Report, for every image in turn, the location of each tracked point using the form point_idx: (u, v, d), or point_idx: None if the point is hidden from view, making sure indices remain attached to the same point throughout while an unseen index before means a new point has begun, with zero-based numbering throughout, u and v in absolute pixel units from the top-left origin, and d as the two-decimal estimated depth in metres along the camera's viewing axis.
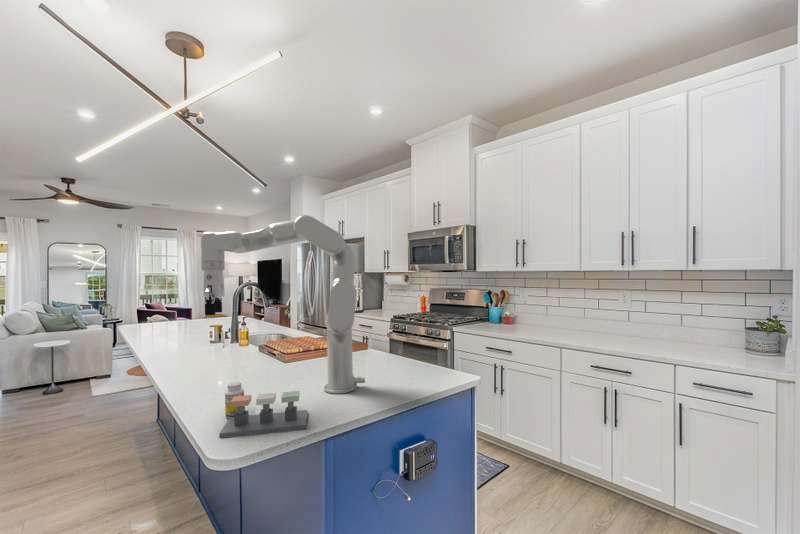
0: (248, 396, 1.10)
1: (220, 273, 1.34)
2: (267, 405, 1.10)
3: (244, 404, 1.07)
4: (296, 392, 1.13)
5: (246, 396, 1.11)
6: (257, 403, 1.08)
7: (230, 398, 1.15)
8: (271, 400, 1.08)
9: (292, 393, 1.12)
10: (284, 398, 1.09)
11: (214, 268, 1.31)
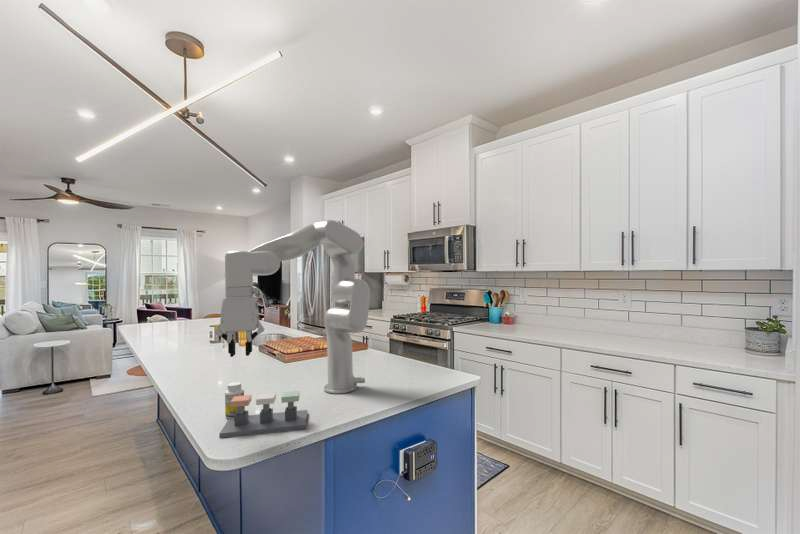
0: (248, 396, 1.10)
1: None
2: (267, 405, 1.10)
3: (244, 404, 1.07)
4: (296, 392, 1.13)
5: (246, 396, 1.11)
6: (257, 403, 1.08)
7: (230, 398, 1.15)
8: (271, 400, 1.08)
9: (292, 393, 1.12)
10: (284, 398, 1.09)
11: None
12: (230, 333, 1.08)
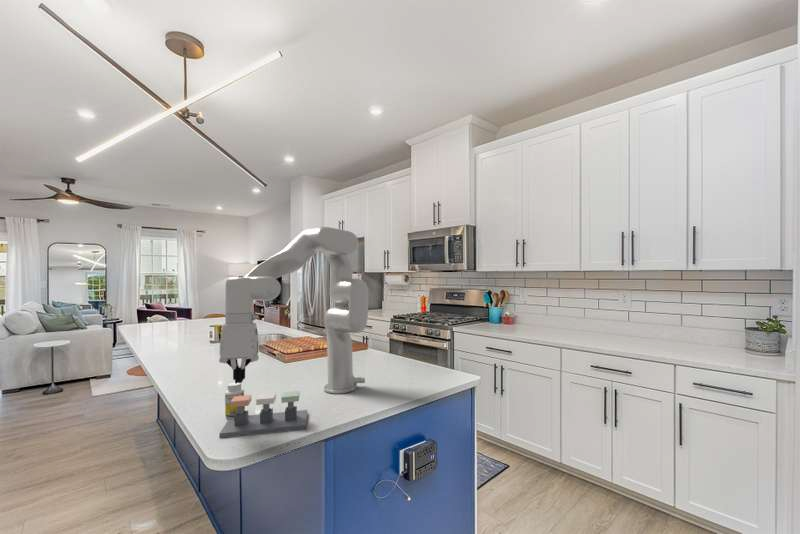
0: (248, 396, 1.10)
1: None
2: (267, 405, 1.10)
3: (244, 404, 1.07)
4: (296, 392, 1.13)
5: (246, 396, 1.11)
6: (257, 403, 1.08)
7: (230, 398, 1.15)
8: (271, 400, 1.08)
9: (292, 393, 1.12)
10: (284, 398, 1.09)
11: None
12: (233, 359, 1.07)
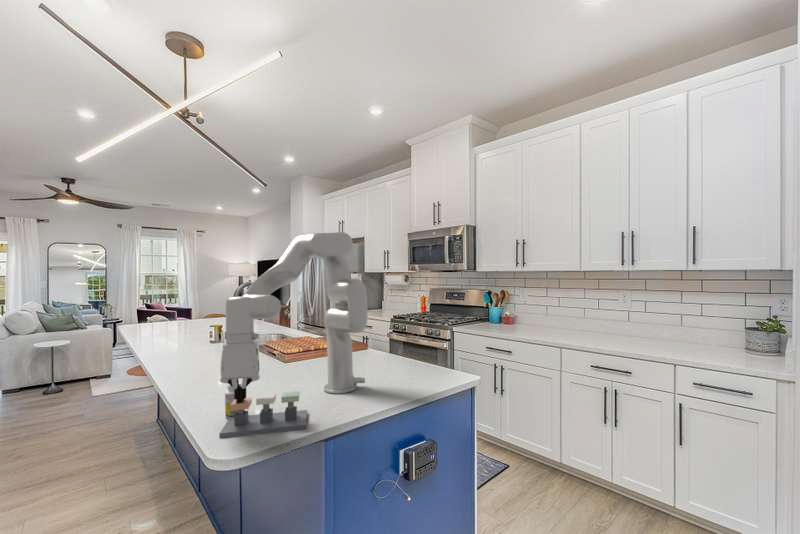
0: (248, 399, 1.10)
1: None
2: (267, 405, 1.10)
3: (244, 407, 1.07)
4: (296, 392, 1.13)
5: (246, 399, 1.10)
6: (257, 403, 1.08)
7: (230, 398, 1.15)
8: (271, 400, 1.08)
9: (292, 393, 1.12)
10: (284, 398, 1.09)
11: None
12: (234, 379, 1.07)
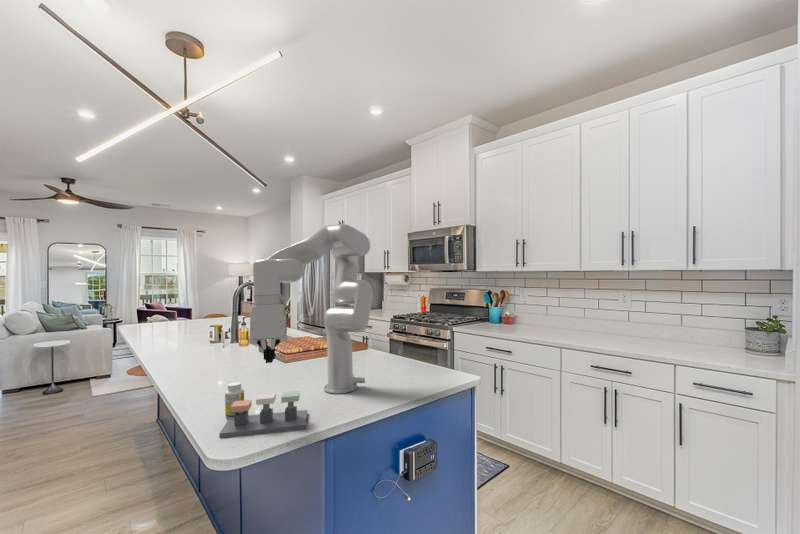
0: (248, 401, 1.10)
1: None
2: (267, 405, 1.10)
3: (244, 409, 1.07)
4: (296, 392, 1.13)
5: (246, 401, 1.10)
6: (257, 403, 1.08)
7: (230, 398, 1.15)
8: (271, 400, 1.08)
9: (292, 393, 1.12)
10: (284, 398, 1.09)
11: None
12: (263, 340, 1.10)
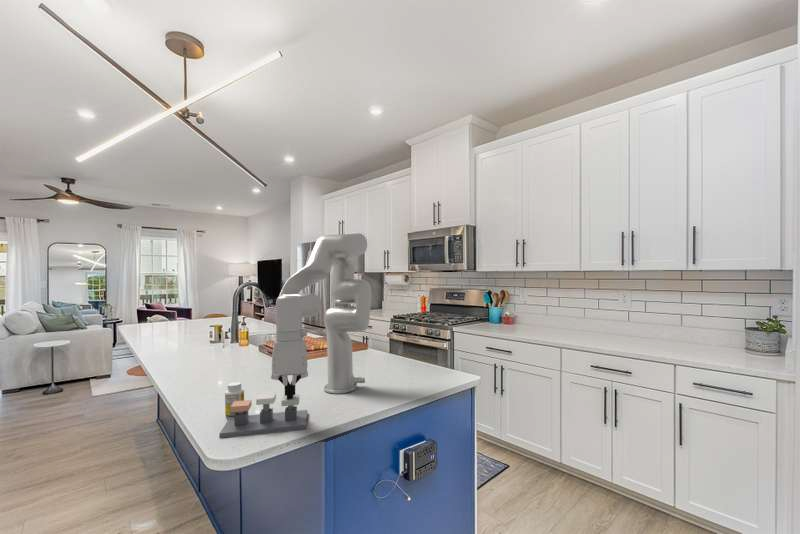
0: (248, 401, 1.10)
1: None
2: (267, 405, 1.10)
3: (244, 409, 1.07)
4: (296, 396, 1.13)
5: (246, 401, 1.10)
6: (257, 403, 1.08)
7: (230, 398, 1.15)
8: (271, 400, 1.08)
9: None
10: (284, 402, 1.09)
11: None
12: (284, 376, 1.10)
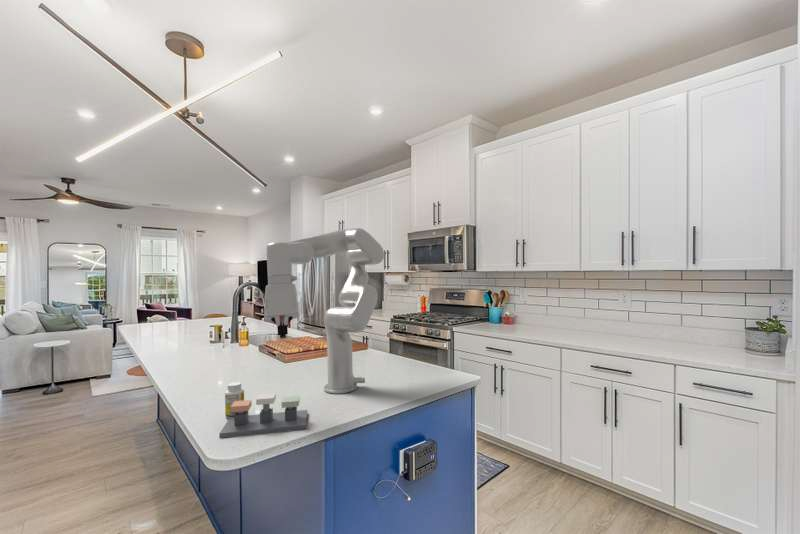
0: (248, 401, 1.10)
1: None
2: (267, 405, 1.10)
3: (244, 409, 1.07)
4: (296, 397, 1.13)
5: (246, 401, 1.10)
6: (257, 403, 1.08)
7: (230, 398, 1.15)
8: (271, 400, 1.08)
9: (292, 398, 1.12)
10: (284, 403, 1.09)
11: None
12: (277, 317, 1.19)
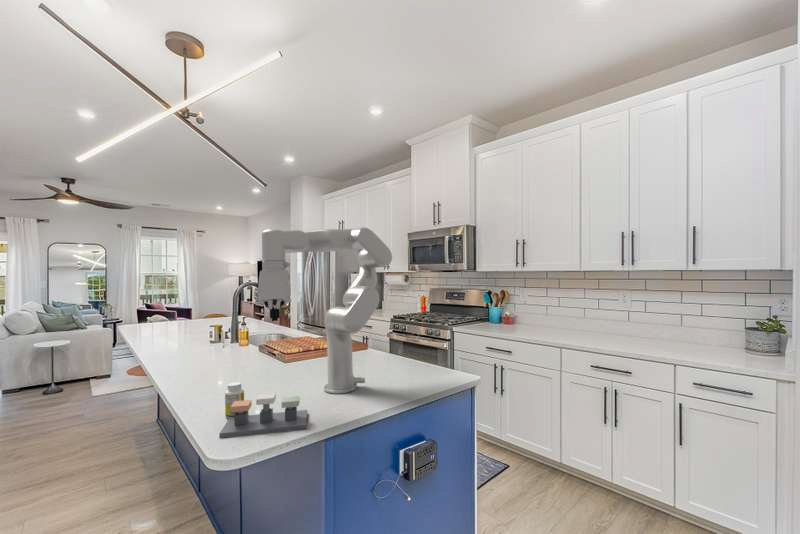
0: (248, 401, 1.10)
1: None
2: (267, 405, 1.10)
3: (244, 409, 1.07)
4: (296, 397, 1.13)
5: (246, 401, 1.10)
6: (257, 403, 1.08)
7: (230, 398, 1.15)
8: (271, 400, 1.08)
9: (292, 398, 1.12)
10: (284, 403, 1.09)
11: None
12: (269, 300, 1.24)
